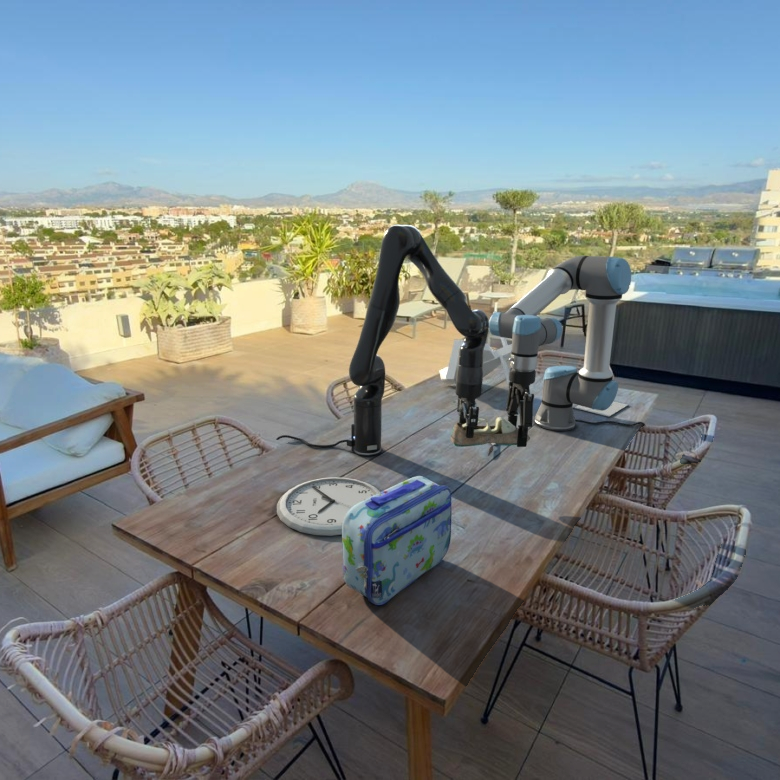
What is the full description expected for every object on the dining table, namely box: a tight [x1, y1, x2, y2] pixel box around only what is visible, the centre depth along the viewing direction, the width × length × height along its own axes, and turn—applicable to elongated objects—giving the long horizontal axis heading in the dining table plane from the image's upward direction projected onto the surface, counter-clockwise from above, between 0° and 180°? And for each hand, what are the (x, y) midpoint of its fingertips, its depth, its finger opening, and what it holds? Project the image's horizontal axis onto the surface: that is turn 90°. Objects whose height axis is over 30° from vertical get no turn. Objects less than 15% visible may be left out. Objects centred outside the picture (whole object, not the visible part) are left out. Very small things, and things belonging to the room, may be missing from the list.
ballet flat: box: [450, 415, 531, 448], centre depth 157 cm, size 8×25×8 cm, turn 99°
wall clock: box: [276, 476, 382, 537], centre depth 142 cm, size 30×2×30 cm
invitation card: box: [573, 400, 629, 418], centre depth 226 cm, size 21×1×15 cm
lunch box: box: [341, 475, 453, 606], centre depth 111 cm, size 26×11×21 cm, turn 134°
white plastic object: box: [438, 310, 512, 388], centre depth 245 cm, size 37×45×31 cm
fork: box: [487, 443, 497, 456], centre depth 181 cm, size 3×16×2 cm, turn 160°
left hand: (465, 432), depth 157 cm, fingers open, 7 cm apart
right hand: (516, 440), depth 160 cm, fingers closed on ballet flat, 8 cm apart
